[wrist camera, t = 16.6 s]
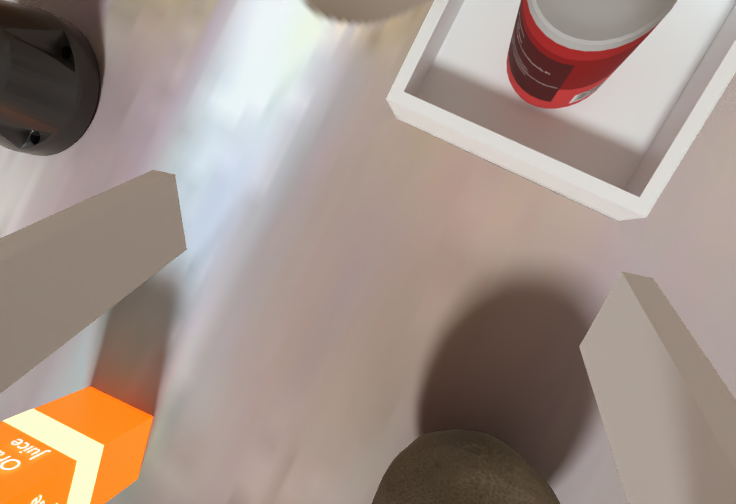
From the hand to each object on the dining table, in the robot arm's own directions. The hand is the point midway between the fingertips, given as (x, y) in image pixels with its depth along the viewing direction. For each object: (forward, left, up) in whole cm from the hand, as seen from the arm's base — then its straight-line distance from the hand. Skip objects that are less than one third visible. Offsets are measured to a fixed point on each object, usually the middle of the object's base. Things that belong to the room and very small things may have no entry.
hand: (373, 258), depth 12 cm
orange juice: (-21, -34, -23) cm, 47 cm away
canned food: (+2, +17, -22) cm, 29 cm away
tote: (+2, +18, -23) cm, 29 cm away
